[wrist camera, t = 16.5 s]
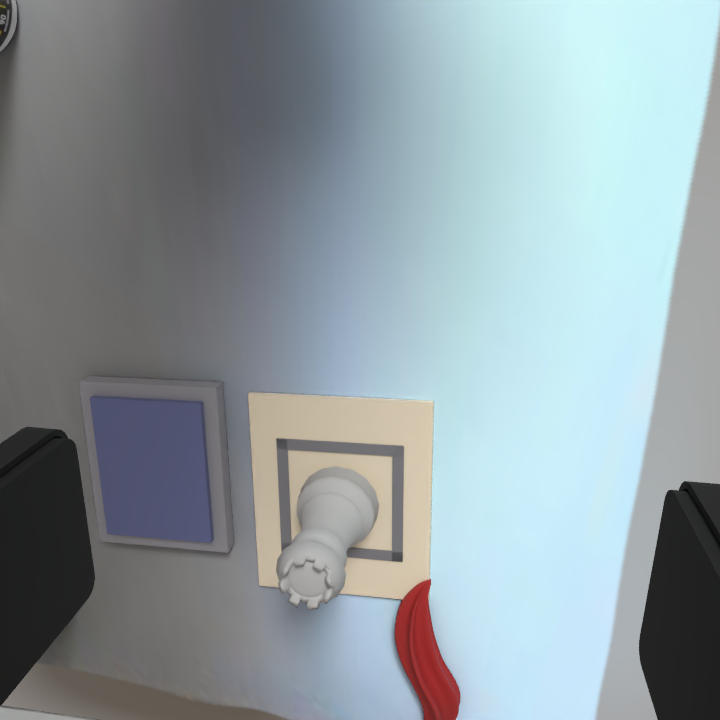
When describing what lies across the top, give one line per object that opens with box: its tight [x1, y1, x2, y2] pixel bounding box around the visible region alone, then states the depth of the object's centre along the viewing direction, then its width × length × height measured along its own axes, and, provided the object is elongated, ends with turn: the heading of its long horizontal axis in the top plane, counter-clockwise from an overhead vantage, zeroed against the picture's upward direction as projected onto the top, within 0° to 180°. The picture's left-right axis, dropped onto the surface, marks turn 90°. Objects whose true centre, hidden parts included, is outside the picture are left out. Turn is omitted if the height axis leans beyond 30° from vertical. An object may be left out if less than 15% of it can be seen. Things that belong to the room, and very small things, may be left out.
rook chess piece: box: [276, 466, 379, 610], centre depth 34 cm, size 4×4×8 cm
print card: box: [248, 392, 434, 602], centre depth 38 cm, size 12×10×1 cm
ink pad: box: [78, 376, 234, 553], centre depth 38 cm, size 10×8×1 cm
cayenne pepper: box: [395, 579, 460, 720], centre depth 39 cm, size 12×5×2 cm, turn 172°
